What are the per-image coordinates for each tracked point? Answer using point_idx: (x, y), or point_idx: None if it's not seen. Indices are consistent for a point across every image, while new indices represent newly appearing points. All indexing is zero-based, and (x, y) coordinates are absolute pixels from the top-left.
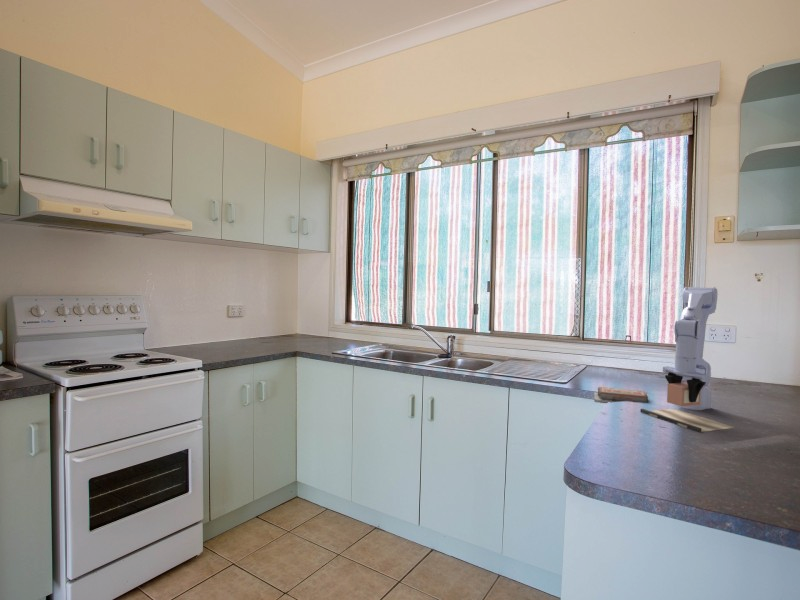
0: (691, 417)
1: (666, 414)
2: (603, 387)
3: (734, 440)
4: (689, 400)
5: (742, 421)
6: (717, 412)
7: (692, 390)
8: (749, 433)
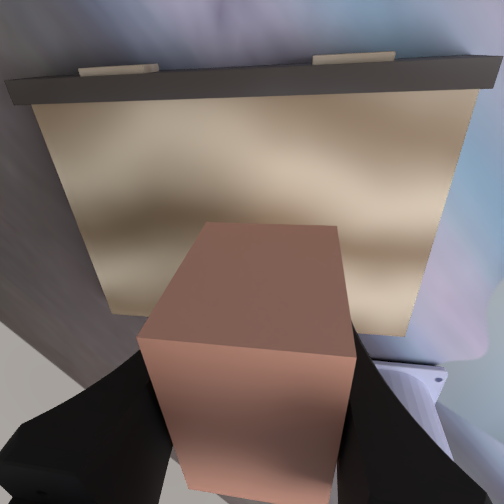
0: None
1: (346, 205)
2: None
3: (28, 212)
4: None
5: None
6: None
7: (116, 369)
8: (114, 330)
